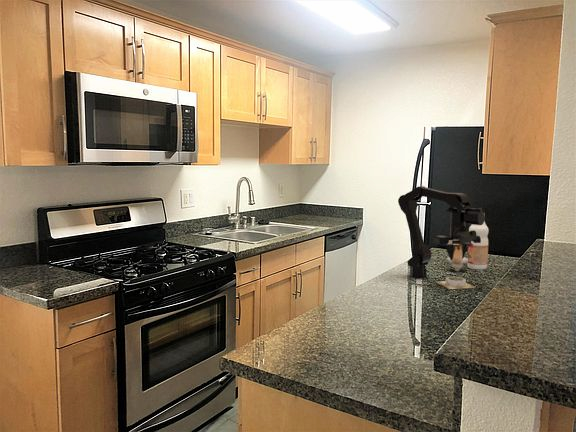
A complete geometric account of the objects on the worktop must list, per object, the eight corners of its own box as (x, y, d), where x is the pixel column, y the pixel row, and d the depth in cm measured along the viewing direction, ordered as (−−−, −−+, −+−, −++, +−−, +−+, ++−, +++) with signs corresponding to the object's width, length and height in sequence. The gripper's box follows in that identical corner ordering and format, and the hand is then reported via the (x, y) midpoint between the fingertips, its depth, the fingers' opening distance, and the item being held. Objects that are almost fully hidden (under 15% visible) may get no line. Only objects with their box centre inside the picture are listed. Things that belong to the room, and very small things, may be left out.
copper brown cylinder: (454, 264, 194) (454, 245, 194) (448, 262, 199) (449, 243, 198) (464, 264, 195) (464, 245, 194) (458, 261, 200) (459, 243, 199)
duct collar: (451, 287, 194) (451, 281, 193) (442, 282, 201) (443, 277, 201) (468, 286, 195) (468, 280, 194) (459, 281, 202) (459, 276, 202)
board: (449, 291, 191) (449, 289, 191) (435, 283, 203) (435, 281, 203) (476, 290, 193) (476, 287, 193) (461, 282, 205) (461, 280, 205)
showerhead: (469, 255, 229) (466, 258, 220) (468, 269, 230) (466, 273, 221) (449, 253, 234) (446, 257, 225) (448, 267, 234) (445, 271, 226)
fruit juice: (481, 270, 227) (483, 214, 224) (463, 267, 234) (465, 212, 231) (490, 267, 233) (493, 212, 230) (473, 264, 240) (475, 211, 237)
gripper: (446, 226, 186) (445, 264, 187) (489, 224, 189) (487, 262, 190) (433, 222, 197) (432, 258, 198) (474, 221, 200) (472, 257, 201)
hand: (456, 259), depth 197 cm, fingers closed on copper brown cylinder, 4 cm apart
